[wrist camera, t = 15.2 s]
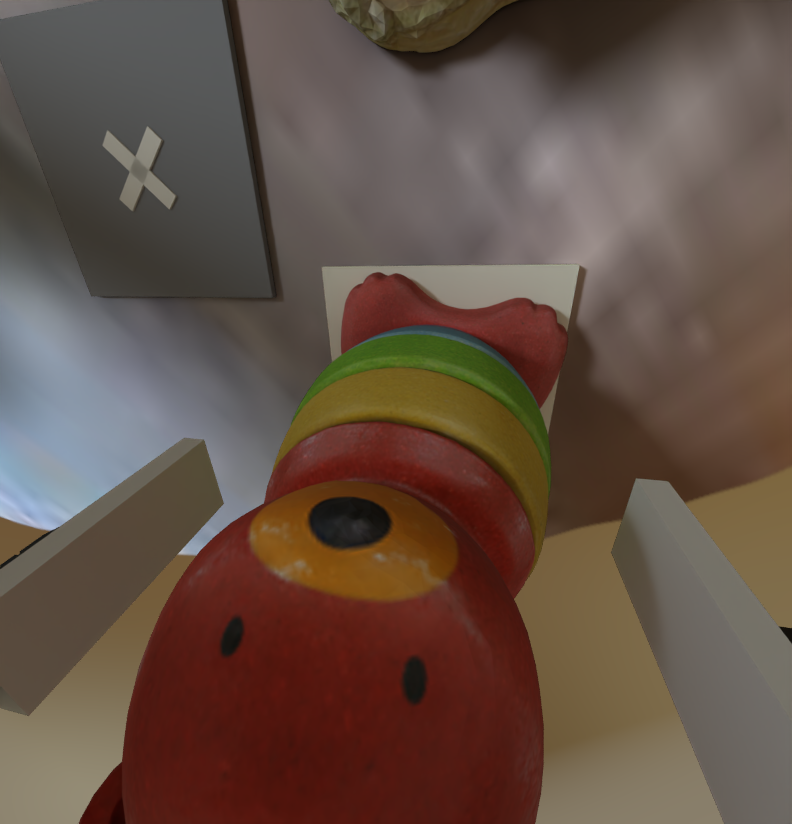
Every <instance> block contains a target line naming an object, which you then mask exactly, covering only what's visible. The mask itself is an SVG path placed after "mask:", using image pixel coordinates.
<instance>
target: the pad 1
mask: <svg viewBox="0 0 792 824" xmlns="http://www.w3.org/2000/svg"><path fill="white" fill-rule="evenodd" d="M0 60H1V63H2V66H3V68H4V71H5V73H6V76H7V79H8V81H9V84H10V86H11V89H12V92H13V94H14V97H15V99H16V102H17V105H18V107H19V110H20V112H21V115H22V118H23V120H24V123H25V125H26V128H27V131H28V133H29V136H30V138H31V141H32V144H33V146H34V149H35V151H36V154H37V157H38V159H39V162H40V164H41V167H42V170H43V172H44V175H45V177H46V180H47V183H48V185H49V188H50V190H51V193H52V196H53V198H54V201H55V203H56V206H57V209H58V211H59V214H60V216H61V219H62V222H63V224H64V227H65V229H66V232H67V235H68V237H69V240H70V242H71V245H72V248H73V250H74V253H75V255H76V258H77V261H78V263H79V266H80V268H81V271H82V274H83V276H84V279H85V281H86V284H87V287H88V289H89V292H90V294H91V296H125V297H244V298H273V297H276V292H275V286H274V280H273V274H272V268H271V262H270V256H269V250H268V244H267V238H266V232H265V226H264V220H263V214H262V208H261V201H260V195H259V189H258V183H257V177H256V171H255V165H254V159H253V153H252V147H251V141H250V135H249V129H248V123H247V117H246V111H245V105H244V99H243V93H242V87H241V81H240V75H239V69H238V63H237V57H236V51H235V45H234V39H233V33H232V27H231V20H230V14H229V8H228V2H227V0H99V1H94V2H89V3H84V4H78V5H73V6H68V7H63V8H57V9H52V10H47V11H42V12H36V13H31V14H26V15H21V16H15V17H10V18H5V19H0Z"/></svg>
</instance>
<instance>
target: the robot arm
mask: <svg viewBox="0 0 792 824" xmlns="http://www.w3.org/2000/svg"><path fill="white" fill-rule="evenodd" d="M223 504H224V503H223V500H222V496H221V493H220V490H219V487H218V483H217V480H216V477H215V474H214V470H213V467H212V464H211V461H210V457H209V454H208V451H207V448H206V445H205V441H204V440H202V439H191V438H183V439H182V440H181V441H179V442H178V443H176V444H175V445H174V446H172V447H171V448H169V449H168V450H167V451H165V452H164V453H162V454H161V455H160V456H158V457H157V458H155V459H154V460H153V461H151V462H150V463H148V464H147V465H146V466H144V467H143V468H141V469H140V470H139V471H137V472H136V473H134V474H133V475H132V476H130V477H129V478H127V479H126V480H125V481H123V482H122V483H120V484H119V485H118V486H116V487H115V488H113V489H112V490H111V491H109V492H108V493H106V494H105V495H104V496H102V497H101V498H99V499H98V500H97V501H95V502H94V503H92V504H91V505H90V506H88V507H87V508H85V509H84V510H83V511H81V512H80V513H78V514H77V515H76V516H74V517H73V518H71V519H70V520H69V521H67V522H66V523H64V524H63V525H62V526H60V527H58V528H56V529H54V530H52V531H50V532H48V533H46V534H44V535H42V536H41V537H40V538H38V539H37V540H35V541H34V542H33V543H31V544H30V545H29V546H27V547H25V548H24V549H23V550H21V551H20V554H19V555H14V556H13V557H11V558H10V559H8V560H7V561H6V562H4V563H3V564H1V565H0V708H2V709H6V710H9V711H13V712H17V713H20V714H24V715H27V716H29V715H30V714H31V713H32V712H33V711H34V709H36V707H37V706H38V705H39V704H40V703H41V702H42V701H43V700H44V699H45V698H46V697H47V695H48V694H49V693H50V692H51V691H52V690H53V689H54V688H55V687H56V686H57V685H58V684H59V682H60V681H61V680H62V679H63V678H64V677H65V676H66V675H67V674H68V673H69V672H70V670H71V669H72V668H73V667H74V666H75V665H76V664H77V663H78V662H79V661H80V660H81V658H82V657H83V656H84V655H85V654H86V653H87V652H88V651H89V650H90V649H91V648H92V647H93V645H94V644H95V643H96V642H97V641H98V640H99V639H100V638H101V637H102V636H103V635H104V633H105V632H106V631H107V630H108V629H109V628H110V627H111V626H112V625H113V623H114V622H116V620H117V619H118V618H119V617H120V616H121V615H122V614H123V613H124V612H125V610H127V608H128V607H129V606H130V605H131V604H132V603H133V602H134V601H135V600H136V599H137V598H138V597H139V595H140V594H141V593H142V592H143V591H144V590H145V589H146V588H147V587H148V586H149V585H150V583H151V582H152V581H153V580H154V579H155V578H156V577H157V576H158V575H159V574H160V573H161V571H162V570H163V569H164V568H165V567H166V566H167V565H168V564H169V563H170V562H171V561H172V560H173V558H174V557H175V556H176V555H177V554H178V553H179V552H180V551H181V550H182V549H183V548H184V546H185V545H186V544H187V543H188V542H189V541H190V540H191V539H192V538H193V537H194V536H195V535H196V533H197V532H198V531H199V530H200V529H201V528H202V527H203V526H204V525H205V524H206V523H207V521H208V520H209V519H210V518H211V517H212V516H213V515H214V514H215V513H216V512H217V511H218V510H219V508H220V507H221V506H222V505H223ZM611 553H612V556H613V558H614V560H615V563H616V565H617V568H618V570H619V572H620V575H621V577H622V580H623V582H624V584H625V587H626V589H627V592H628V594H629V596H630V599H631V601H632V604H633V606H634V608H635V611H636V613H637V615H638V618H639V620H640V623H641V625H642V628H643V630H644V632H645V635H646V637H647V640H648V642H649V644H650V647H651V649H652V652H653V654H654V656H655V659H656V661H657V663H658V666H659V668H660V671H661V673H662V675H663V678H664V680H665V683H666V685H667V688H668V690H669V692H670V695H671V697H672V700H673V702H674V704H675V707H676V709H677V711H678V714H679V716H680V718H681V721H682V723H683V725H684V728H685V731H686V733H687V736H688V738H689V740H690V743H691V745H692V748H693V750H694V752H695V755H696V757H697V759H698V762H699V764H700V767H701V769H702V771H703V774H704V776H705V779H706V781H707V784H708V786H709V788H710V791H711V793H712V796H713V798H714V800H715V803H716V805H717V808H718V810H719V812H720V815H721V817H722V820H723V822H724V824H792V628H786V627H779V626H778V625H777V624H776V623H775V621H774V620H773V619H772V617H771V616H770V615H769V613H768V612H767V611H766V609H765V608H764V607H763V606H762V604H761V603H760V602H759V600H758V599H757V598H756V596H755V595H754V594H753V593H752V591H751V590H750V589H749V587H748V586H747V584H746V583H745V582H744V581H743V579H742V578H741V576H740V575H739V574H738V573H737V571H736V570H735V569H734V567H733V566H732V565H731V563H730V562H729V561H728V559H727V558H726V557H725V556H724V554H723V553H722V551H721V550H720V549H719V548H718V546H717V545H716V544H715V542H714V541H713V540H712V538H711V537H710V536H709V534H708V533H707V532H706V530H705V529H704V528H703V526H702V525H701V524H700V523H699V521H698V520H697V519H696V517H695V516H694V515H693V513H692V512H691V511H690V509H689V508H688V507H687V505H686V504H685V503H684V501H683V500H682V499H681V498H680V496H679V495H678V494H677V492H676V491H675V490H674V488H673V487H672V486H671V484H670V483H669V482H668V481H660V480H649V479H637V478H636V480H635V483H634V486H633V489H632V492H631V495H630V498H629V501H628V504H627V507H626V510H625V513H624V516H623V519H622V522H621V525H620V528H619V531H618V534H617V537H616V539H615V542H614V545H613V548H612V552H611Z"/></svg>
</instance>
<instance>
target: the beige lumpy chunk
mask: <svg viewBox="0 0 792 824" xmlns="http://www.w3.org/2000/svg"><path fill="white" fill-rule="evenodd" d="M329 1H330V3H331V5H332V7H333V8H334V10H335V12H336V13H337V14H338V15H340V16H341V17H342V18H344V19H345V20H346V21H348V22H349V23H350V24H352V25H354V26H355V27H356V28H357V29H358V30H359V31H360V32H362V33H363V34H364V35H365V36H366V37H367V38H368V39H370V40H371V41H373V42H374V43H376V44H378V45H379V46H382V47H384V48H386V49H390V50H399V51H418V52H420V53H425V52H436V51H440V50H442V49H445V48H447V47H450V46H453V45H455V44H456V43H458V42H459V41H461V40H462V39H464V38H465V37H467V36H468V35H469V34H471V33H472V32H473V31H474V30H475V29H476V28H477V27H478V26H480V25H481V24H482V23H483V22H484V21H485V20H486V19H488V18H489V17H490V16H491V15H492V14H493V13H494V12H496V11H497V10H499V9H500V8H501V7H503V6H505V5H508V4H510V3H512V2H515V1H517V0H329Z"/></svg>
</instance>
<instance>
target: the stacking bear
mask: <svg viewBox="0 0 792 824" xmlns="http://www.w3.org/2000/svg"><path fill="white" fill-rule="evenodd" d="M567 345H568V336H567V331H566V329H565V327H564V326H563V325H561V324H559V323H557V313H556V311H555V310H554V309H553V308H552V307H551V306H548V305H546V304H539V305H537V304H534V303H533V301H532V300H530V299H528V298H513V299H509V300H506V301H504V302H501V303H498V304H495V305H492V306H489V307H484V308H478V309H460V308H455V307H451V306H447V305H444V304H442V303H440V302H438V301H436V300H434V299H432V298H431V297H429V296H428V295H427V294H426V293H424V292H423V291H422V290H421V289H420V288H419V287H418V286H417V285H416V284H415V283H414V282H413V281H412V280H410V279H409V278H407V277H406V276H404V275H402V274H398V273H395V274H392V275H389V276H388V275H385V274H383V273H381V272H375V273H372V274H370V275H369V276H367V277H366V278H365V280H364V282H363V283H361V284H358V285H357V286H355V287H354V288H353V289H352V290H351V291H350V293H349V295H348V297H347V299H346V302H345V306H344V312H343V318H342V327H341V356H339V357H338V358H337V359H336V360H334V361H333V362H332V363H331V364H330V365H329V366H327V368H326V369H325V370H324V371H323V372H322V373H321V374H320V375H319V377H318V378H317V379H316V380H315V382H314V383H313V385H312V386H311V388H310V389H309V390H308V392H307V394H306V395H305V397H304V398H303V400H302V402H301V404H300V405H299V407H298V409H297V411H296V413H295V416H294V418H293V420H292V423H291V427H290V429H289V430H288V432H287V434H286V436H285V438H284V441H283V443H282V445H281V447H280V450H279V453H278V456H277V458H276V461H275V464H274V468H273V472H272V475H271V478H270V481H269V483H268V486H267V491H266V496H265V501H264V504H262V505H260V506H259V507H257V508H255V509H253V510H252V511H250V512H248V513H246V514H245V515H243V516H241V517H240V518H238V519H237V520H235V521H233V522H232V523H231V524H229V525H228V526H227V527H226V528H225V529H223V530H222V531H221V532H220V533H219V534H217V535H216V536H215V537H214V538H213V539H212V540H211V541H210V542H209V543H208V544H207V545H206V546H205V547H204V548H202V549H201V551H200V552H199V553H198V555H197V556H196V557H195V558H194V560H193V561H192V562H191V564H190V565H189V566H188V568H187V569H186V571H185V572H184V574H183V575H182V577H181V579H180V580H179V581H178V583H177V584H176V586H175V588H174V589H173V592H172V593H171V595H170V597H169V599H168V600H167V602H166V604H165V606H164V608H163V610H162V611H161V614H160V616H159V618H158V621H157V623H156V625H155V628H154V630H153V632H152V634H151V637H150V640H149V642H148V645H147V647H146V650H145V652H144V655H143V658H142V660H141V663H140V666H139V669H138V674H137V678H136V682H135V686H134V690H133V694H132V698H131V702H130V706H129V710H128V715H127V723H126V730H125V738H124V748H123V758H122V762H121V763H120V764H119V765H118V766H117V767H116V768H115V769H114V770H113V771H112V772H111V773H110V775H109V776H108V777H107V779H106V780H105V781H104V782H103V784H102V785H101V786H100V787H99V789H98V790H97V792H96V793H95V794H94V796H93V797H92V799H91V801H90V803H89V805H88V806H87V808H86V810H85V812H84V814H83V815H82V817H81V819H80V822H79V824H535V822H536V816H537V811H538V806H539V800H540V795H541V786H542V775H543V755H544V754H543V753H544V752H543V751H544V750H543V749H544V748H543V745H544V744H543V739H544V737H543V735H544V732H543V730H544V727H543V726H544V725H543V715H542V706H541V697H540V689H539V683H538V676H537V670H536V664H535V660H534V656H533V652H532V648H531V644H530V640H529V636H528V632H527V630H526V627H525V625H524V622H523V620H522V617H521V615H520V612H519V610H518V607H517V605H516V603H515V601H514V598H515V597H516V595H517V594H518V593H519V591H520V590H521V588H522V587H523V585H524V584H525V581H526V580H527V579H528V577H529V576H530V574H531V573H532V572H533V569H534V567H535V565H536V563H537V561H538V558H539V555H540V552H541V549H542V545H543V540H544V535H545V530H546V523H547V515H548V499H549V493H550V488H551V457H550V446H549V439H548V433H547V429H546V426H545V423H544V419H543V417H542V414H541V411H540V408H541V407H542V405H543V404H544V402H545V401H546V399H547V397H548V395H549V394H550V392H551V390H552V388H553V386H554V384H555V382H556V380H557V377H558V375H559V372H560V370H561V367H562V364H563V361H564V357H565V354H566V350H567Z"/></svg>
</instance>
